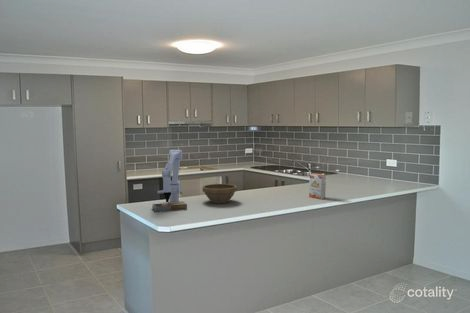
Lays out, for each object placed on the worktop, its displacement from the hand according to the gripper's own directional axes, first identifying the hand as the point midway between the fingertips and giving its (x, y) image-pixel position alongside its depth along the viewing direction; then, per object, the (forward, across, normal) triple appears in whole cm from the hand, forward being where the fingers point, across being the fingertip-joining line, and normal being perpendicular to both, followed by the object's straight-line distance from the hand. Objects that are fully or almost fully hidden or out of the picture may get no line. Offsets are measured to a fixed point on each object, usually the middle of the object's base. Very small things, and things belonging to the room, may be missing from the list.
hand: (167, 202), depth 320 cm
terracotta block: (+2, -3, -6) cm, 7 cm away
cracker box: (+5, +131, -8) cm, 131 cm away
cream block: (+2, 0, 0) cm, 2 cm away
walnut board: (+5, +7, -3) cm, 9 cm away
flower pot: (+5, +46, +8) cm, 47 cm away
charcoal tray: (+5, -5, -3) cm, 8 cm away
